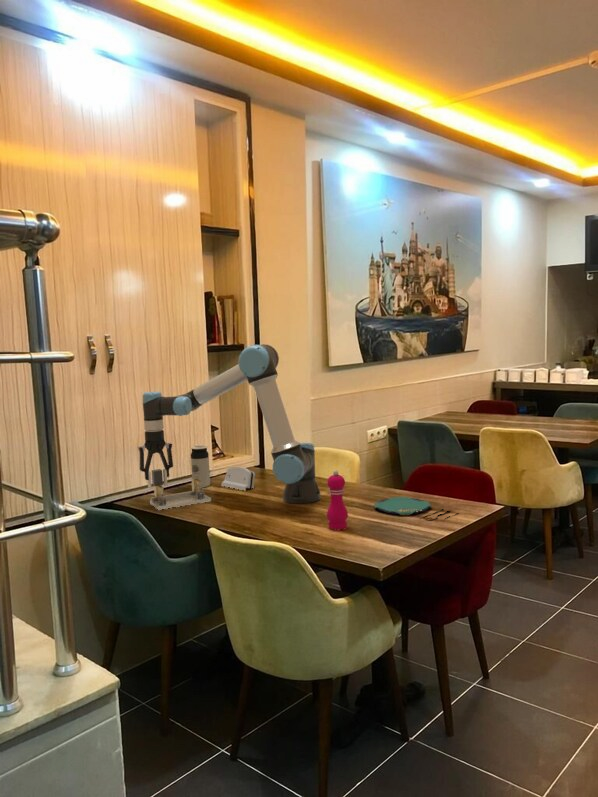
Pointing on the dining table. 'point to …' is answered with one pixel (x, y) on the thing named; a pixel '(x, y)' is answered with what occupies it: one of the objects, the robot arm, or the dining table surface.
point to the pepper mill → (336, 502)
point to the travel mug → (200, 464)
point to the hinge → (239, 478)
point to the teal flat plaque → (402, 505)
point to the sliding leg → (157, 482)
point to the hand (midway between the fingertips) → (157, 486)
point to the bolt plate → (181, 497)
